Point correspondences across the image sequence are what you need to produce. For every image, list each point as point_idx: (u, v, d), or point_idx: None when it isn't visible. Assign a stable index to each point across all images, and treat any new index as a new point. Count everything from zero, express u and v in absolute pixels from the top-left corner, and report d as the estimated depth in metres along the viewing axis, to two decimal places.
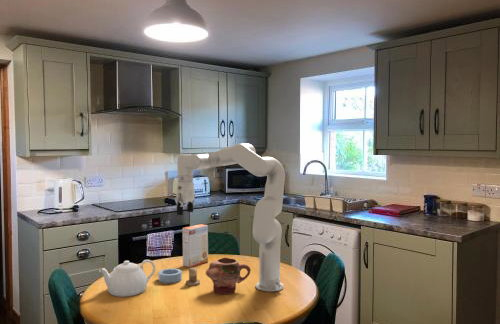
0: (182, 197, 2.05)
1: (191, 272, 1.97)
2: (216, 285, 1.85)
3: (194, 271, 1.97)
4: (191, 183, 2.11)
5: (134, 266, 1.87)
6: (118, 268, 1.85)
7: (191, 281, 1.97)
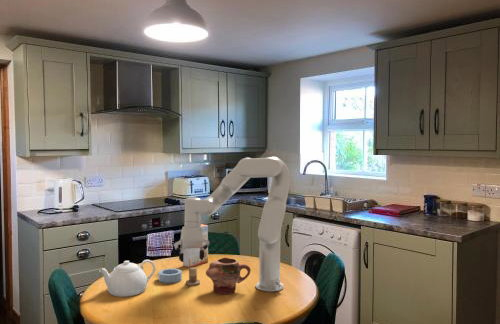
0: None
1: (191, 272, 1.97)
2: (216, 285, 1.85)
3: (194, 271, 1.97)
4: None
5: (134, 266, 1.87)
6: (118, 268, 1.85)
7: (191, 281, 1.97)
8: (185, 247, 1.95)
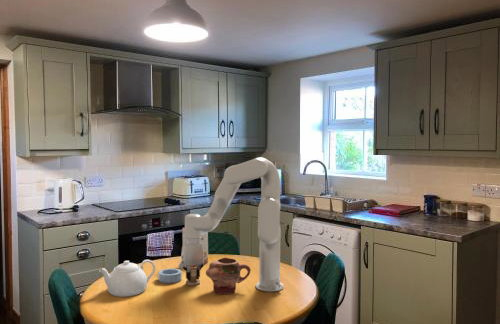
0: None
1: (191, 272, 1.97)
2: (216, 285, 1.85)
3: (194, 271, 1.97)
4: None
5: (134, 266, 1.87)
6: (118, 268, 1.85)
7: (191, 281, 1.97)
8: (186, 264, 1.95)
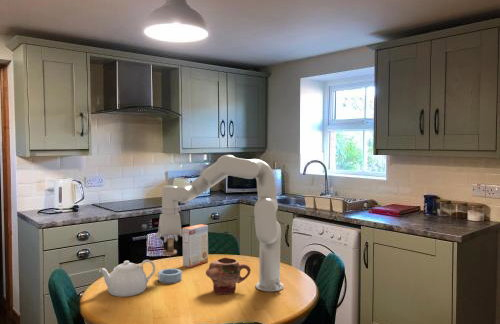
0: None
1: (168, 242, 2.02)
2: (216, 285, 1.85)
3: (171, 241, 2.02)
4: None
5: (134, 266, 1.87)
6: (118, 268, 1.85)
7: (168, 251, 2.02)
8: (163, 234, 2.00)
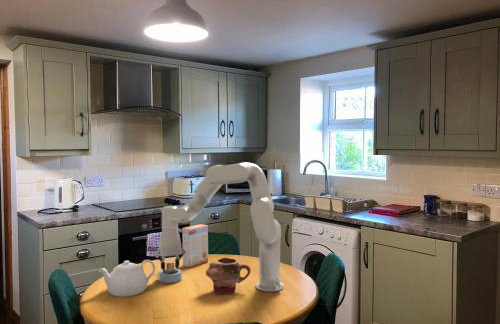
0: None
1: (168, 267, 2.02)
2: (216, 285, 1.85)
3: (171, 266, 2.02)
4: None
5: (134, 266, 1.87)
6: (118, 268, 1.85)
7: None
8: (163, 254, 2.00)
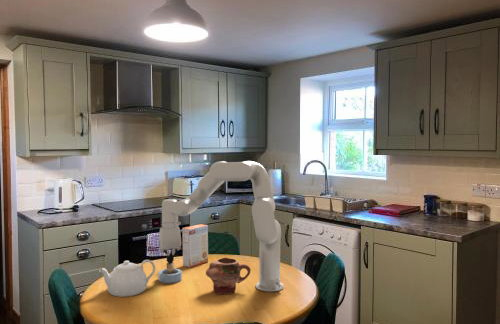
0: None
1: (168, 267, 2.02)
2: (216, 285, 1.85)
3: (171, 266, 2.02)
4: None
5: (134, 266, 1.87)
6: (118, 268, 1.85)
7: None
8: (163, 247, 2.00)
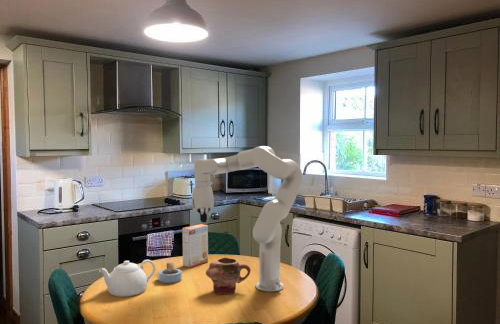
0: None
1: (168, 267, 2.02)
2: (216, 285, 1.85)
3: (171, 266, 2.02)
4: None
5: (134, 266, 1.87)
6: (118, 268, 1.85)
7: None
8: (197, 206, 2.03)
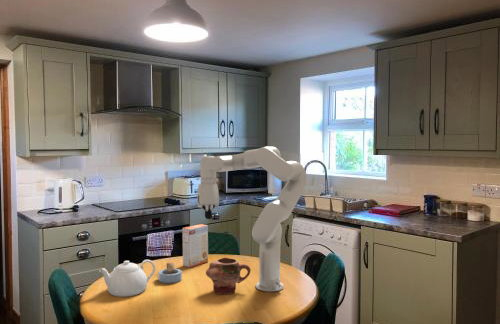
0: None
1: (168, 267, 2.02)
2: (216, 285, 1.85)
3: (171, 266, 2.02)
4: None
5: (134, 266, 1.87)
6: (118, 268, 1.85)
7: None
8: (202, 203, 2.04)
